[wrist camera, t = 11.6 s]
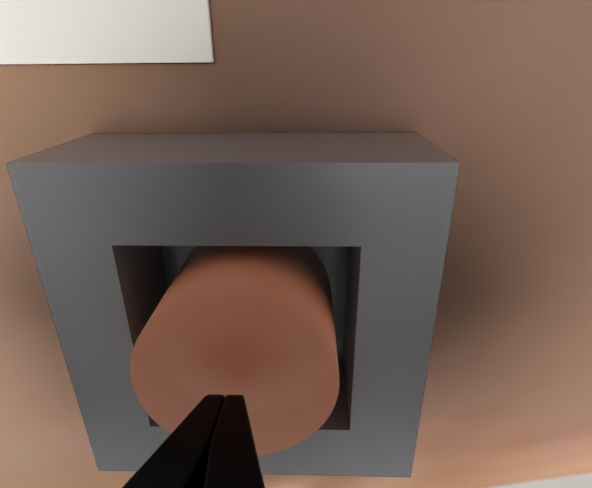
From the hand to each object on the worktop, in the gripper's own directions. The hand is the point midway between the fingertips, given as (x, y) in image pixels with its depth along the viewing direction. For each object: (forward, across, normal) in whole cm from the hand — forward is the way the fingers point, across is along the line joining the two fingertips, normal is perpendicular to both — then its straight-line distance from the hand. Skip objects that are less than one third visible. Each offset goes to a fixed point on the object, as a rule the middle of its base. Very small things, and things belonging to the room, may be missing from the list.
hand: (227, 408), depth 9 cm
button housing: (+6, 0, 0) cm, 6 cm away
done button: (+5, 0, 0) cm, 5 cm away
